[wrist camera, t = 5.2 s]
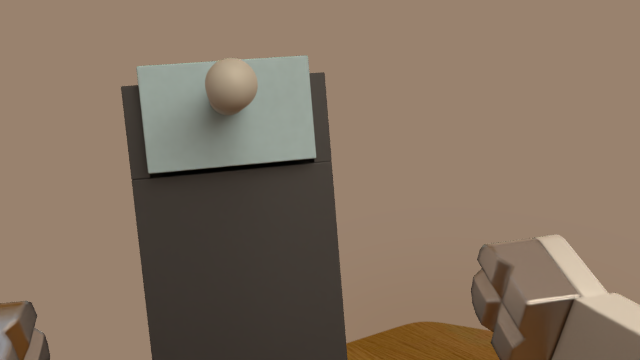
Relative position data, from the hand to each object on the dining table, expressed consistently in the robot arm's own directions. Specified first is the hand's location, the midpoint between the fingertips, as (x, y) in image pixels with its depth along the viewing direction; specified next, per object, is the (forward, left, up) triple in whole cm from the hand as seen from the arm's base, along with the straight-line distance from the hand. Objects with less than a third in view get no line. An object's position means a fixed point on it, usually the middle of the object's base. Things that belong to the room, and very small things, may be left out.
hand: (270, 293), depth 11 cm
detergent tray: (0, +22, +1) cm, 22 cm away
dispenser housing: (0, +28, -20) cm, 34 cm away
